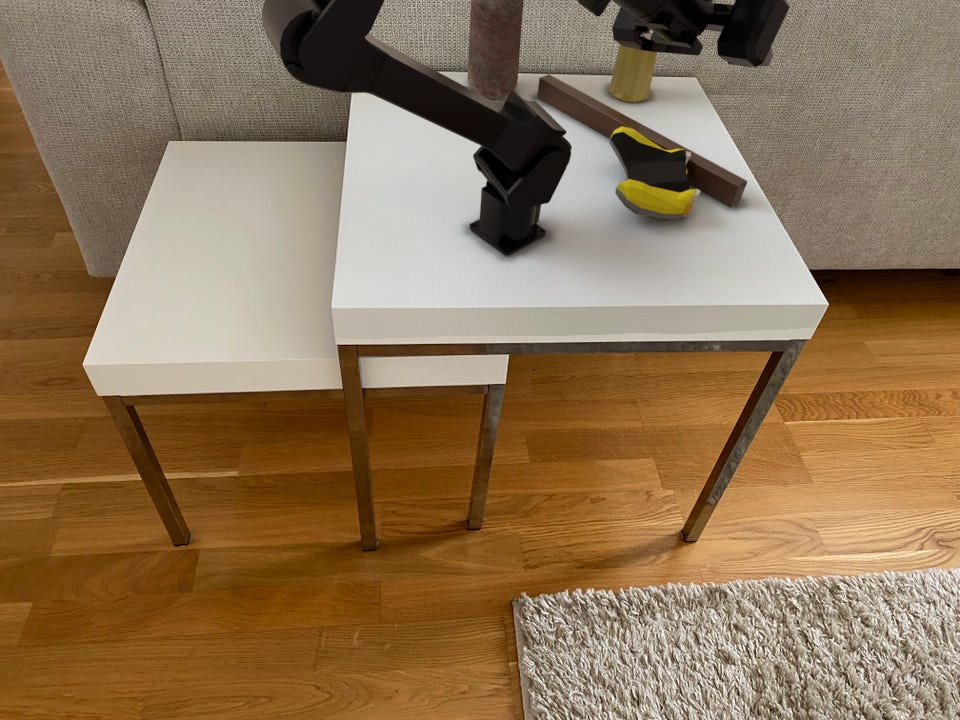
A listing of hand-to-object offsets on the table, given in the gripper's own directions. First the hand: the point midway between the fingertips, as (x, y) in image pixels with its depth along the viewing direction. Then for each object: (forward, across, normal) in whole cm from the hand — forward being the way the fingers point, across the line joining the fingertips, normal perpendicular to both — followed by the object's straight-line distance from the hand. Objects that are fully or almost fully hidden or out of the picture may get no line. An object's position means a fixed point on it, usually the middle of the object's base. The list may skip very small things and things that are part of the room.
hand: (733, 55), depth 76 cm
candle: (-2, +37, +10) cm, 38 cm away
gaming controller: (+4, +6, +17) cm, 18 cm away
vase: (+15, +26, +3) cm, 30 cm away
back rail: (+8, +16, +11) cm, 20 cm away
